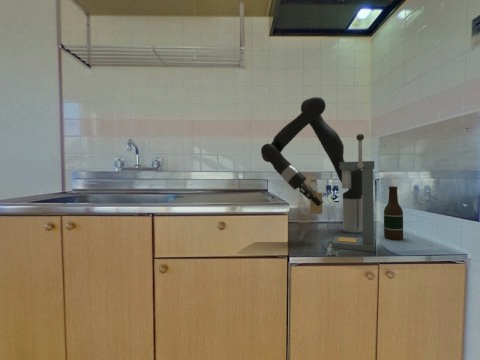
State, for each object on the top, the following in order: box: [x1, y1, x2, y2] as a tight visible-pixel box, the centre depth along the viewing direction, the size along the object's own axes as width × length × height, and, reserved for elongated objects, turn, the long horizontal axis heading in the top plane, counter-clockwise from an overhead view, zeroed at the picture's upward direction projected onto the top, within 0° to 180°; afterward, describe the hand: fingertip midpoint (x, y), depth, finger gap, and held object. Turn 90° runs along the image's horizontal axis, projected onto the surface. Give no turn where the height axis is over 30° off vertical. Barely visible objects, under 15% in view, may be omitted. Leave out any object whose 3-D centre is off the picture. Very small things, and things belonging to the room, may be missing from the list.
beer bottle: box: [383, 185, 404, 241], centre depth 123 cm, size 8×8×24 cm
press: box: [331, 133, 376, 253], centre depth 111 cm, size 13×16×46 cm
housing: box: [309, 189, 323, 215], centre depth 118 cm, size 4×4×10 cm
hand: (320, 204), depth 117 cm, fingers closed on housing, 4 cm apart
